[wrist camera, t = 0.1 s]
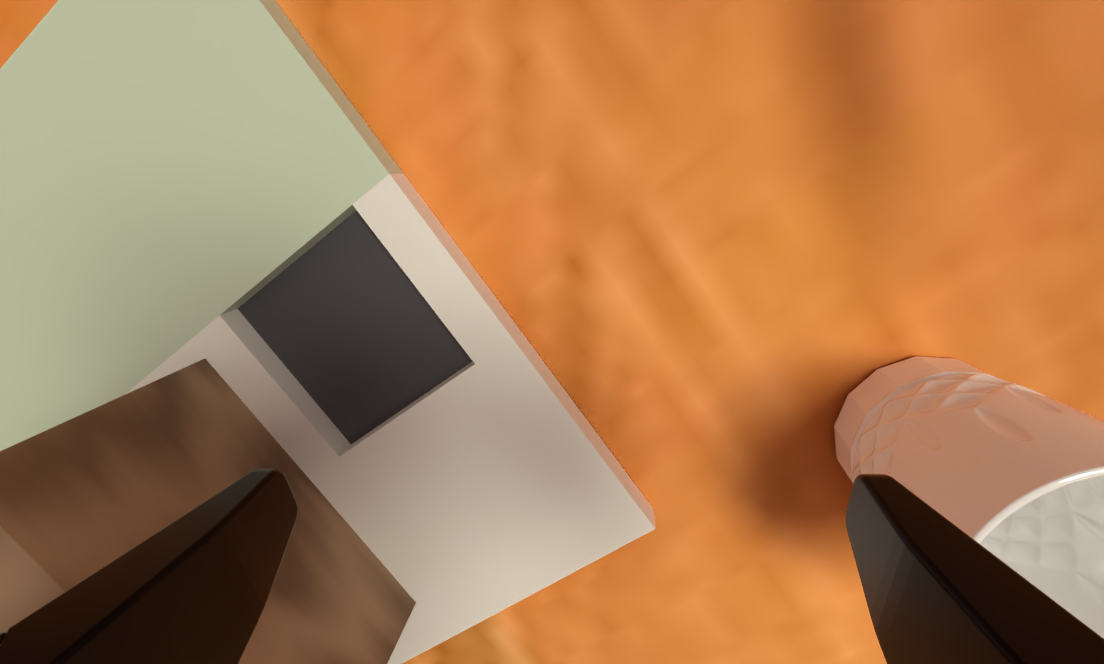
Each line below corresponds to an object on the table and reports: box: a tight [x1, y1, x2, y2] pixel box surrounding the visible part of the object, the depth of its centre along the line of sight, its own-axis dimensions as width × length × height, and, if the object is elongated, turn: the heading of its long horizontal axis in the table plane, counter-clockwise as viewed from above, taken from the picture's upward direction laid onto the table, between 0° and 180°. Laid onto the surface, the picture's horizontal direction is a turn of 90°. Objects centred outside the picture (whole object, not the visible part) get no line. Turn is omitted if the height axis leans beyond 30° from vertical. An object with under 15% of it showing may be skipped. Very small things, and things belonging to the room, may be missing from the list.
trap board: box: [0, 0, 655, 664], centre depth 27 cm, size 31×30×2 cm
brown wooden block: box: [0, 359, 416, 664], centre depth 22 cm, size 15×6×10 cm, turn 36°
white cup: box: [834, 356, 1104, 638], centre depth 19 cm, size 8×8×10 cm
